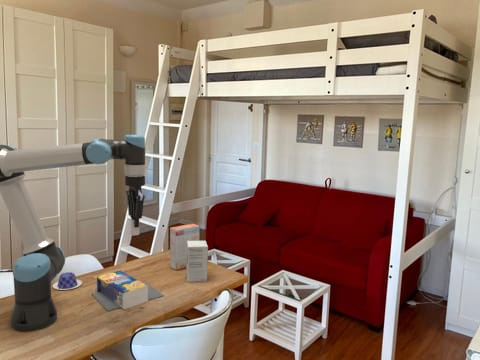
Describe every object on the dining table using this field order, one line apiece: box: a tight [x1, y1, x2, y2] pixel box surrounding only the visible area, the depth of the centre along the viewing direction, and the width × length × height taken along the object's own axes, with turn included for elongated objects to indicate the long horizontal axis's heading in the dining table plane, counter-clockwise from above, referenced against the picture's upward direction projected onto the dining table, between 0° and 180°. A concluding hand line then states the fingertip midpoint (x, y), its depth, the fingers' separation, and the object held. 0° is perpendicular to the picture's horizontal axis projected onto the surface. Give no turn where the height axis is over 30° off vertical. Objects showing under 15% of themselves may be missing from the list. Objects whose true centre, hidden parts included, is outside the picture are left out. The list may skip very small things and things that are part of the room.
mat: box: [91, 281, 165, 312], centre depth 171 cm, size 24×18×1 cm
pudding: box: [52, 271, 83, 291], centre depth 179 cm, size 12×12×5 cm
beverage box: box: [96, 270, 149, 310], centre depth 169 cm, size 7×11×22 cm
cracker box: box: [169, 223, 200, 271], centre depth 205 cm, size 14×6×21 cm, turn 130°
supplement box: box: [185, 240, 209, 283], centre depth 191 cm, size 10×9×17 cm
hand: (135, 234), depth 160 cm, fingers closed
